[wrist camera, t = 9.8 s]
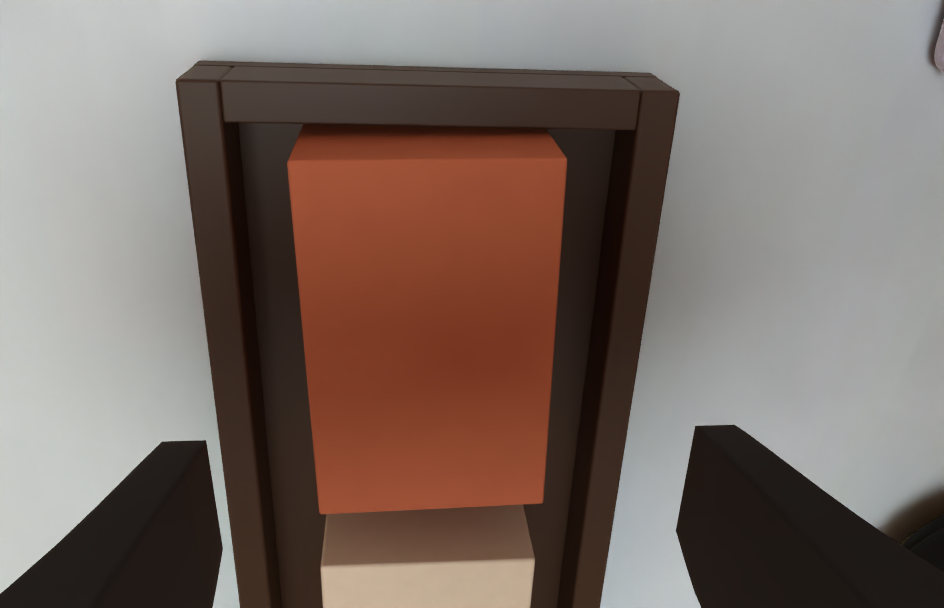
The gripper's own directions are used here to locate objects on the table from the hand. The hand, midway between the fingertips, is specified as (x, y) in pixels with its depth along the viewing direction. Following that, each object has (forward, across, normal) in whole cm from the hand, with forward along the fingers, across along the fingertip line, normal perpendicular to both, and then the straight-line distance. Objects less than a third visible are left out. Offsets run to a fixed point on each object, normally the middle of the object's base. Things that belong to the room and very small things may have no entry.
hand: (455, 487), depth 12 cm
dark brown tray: (+8, 0, +5) cm, 9 cm away
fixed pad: (+7, 0, +10) cm, 12 cm away
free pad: (+7, 0, 0) cm, 7 cm away
